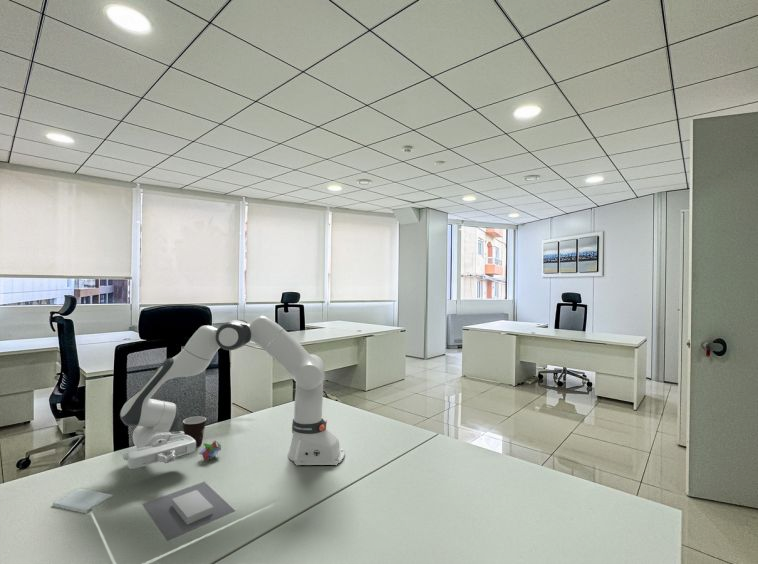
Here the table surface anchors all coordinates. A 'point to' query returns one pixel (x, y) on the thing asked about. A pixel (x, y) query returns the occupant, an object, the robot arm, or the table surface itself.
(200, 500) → the tile
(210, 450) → the geometric puzzle
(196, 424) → the coffee mug
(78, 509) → the hard drive
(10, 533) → the table surface
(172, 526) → the mat
